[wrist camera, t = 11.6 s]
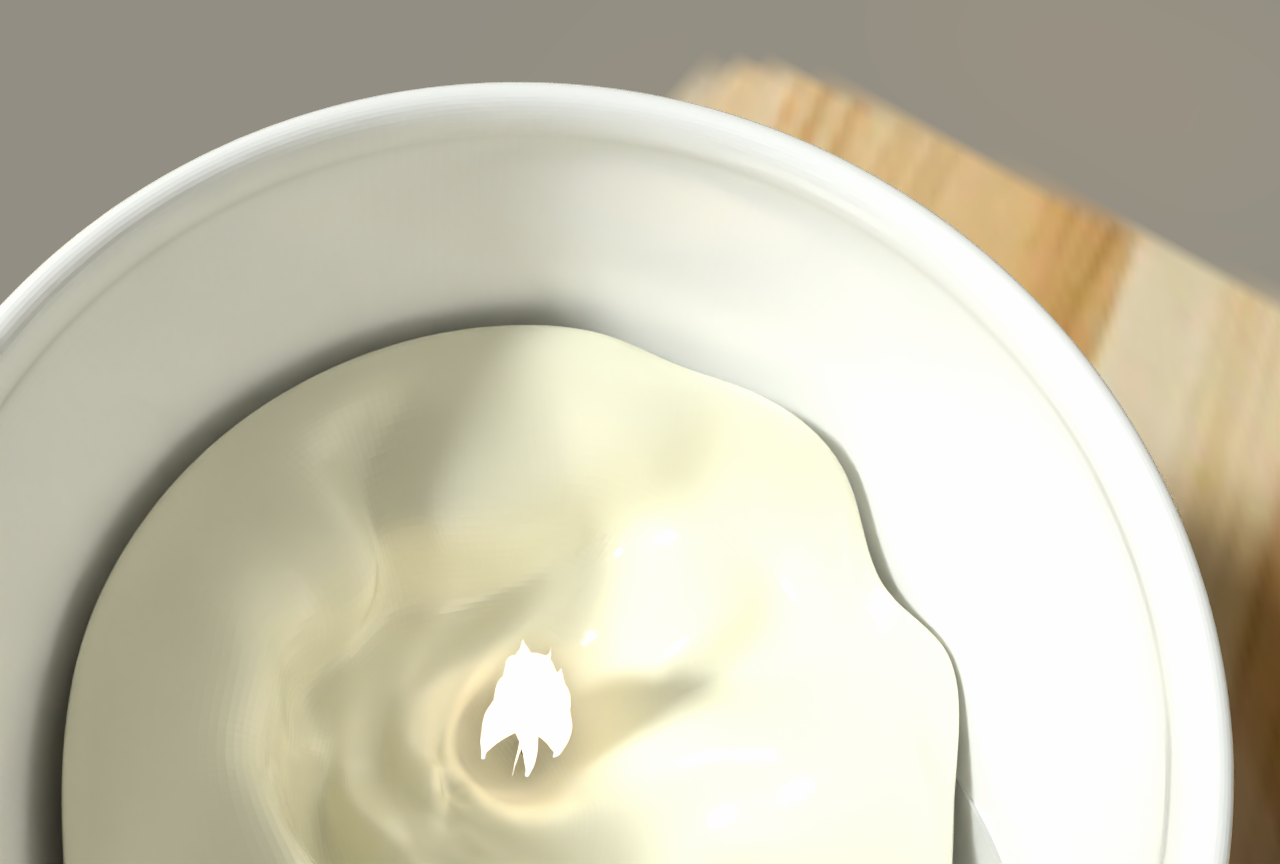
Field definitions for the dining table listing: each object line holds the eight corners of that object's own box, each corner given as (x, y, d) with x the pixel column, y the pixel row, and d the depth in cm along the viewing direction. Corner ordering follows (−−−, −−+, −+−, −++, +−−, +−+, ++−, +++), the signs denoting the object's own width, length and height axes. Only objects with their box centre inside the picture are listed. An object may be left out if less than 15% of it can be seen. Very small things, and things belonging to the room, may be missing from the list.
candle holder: (640, 497, 23) (817, -22, 12) (921, 1027, 19) (1520, 932, 8) (90, 713, 19) (-309, 254, 9) (301, 1404, 16) (42, 2000, 5)
